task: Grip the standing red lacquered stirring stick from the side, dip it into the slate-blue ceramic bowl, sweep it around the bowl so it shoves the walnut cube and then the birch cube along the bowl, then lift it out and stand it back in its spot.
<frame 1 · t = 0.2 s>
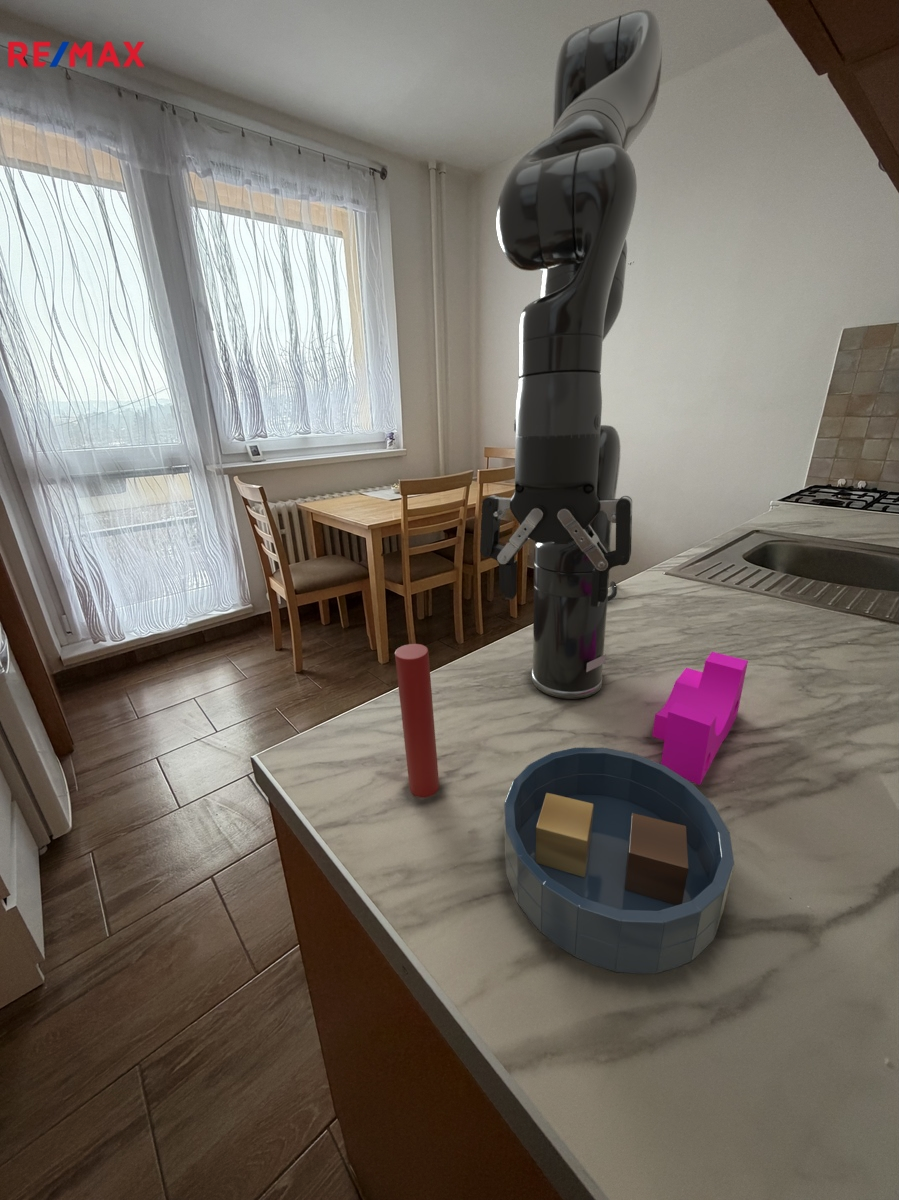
hand: (551, 601, 49), 17 cm above the countertop, tool pointing down, fingers open, 8 cm apart
stirring stick: (424, 790, 49), on the countertop
bowl: (606, 868, 40), on the countertop
birch cube: (563, 850, 41), point 1 cm above the countertop, touching bowl
toy block: (689, 739, 54), on the countertop
walnut cube: (653, 876, 38), point 1 cm above the countertop, touching bowl
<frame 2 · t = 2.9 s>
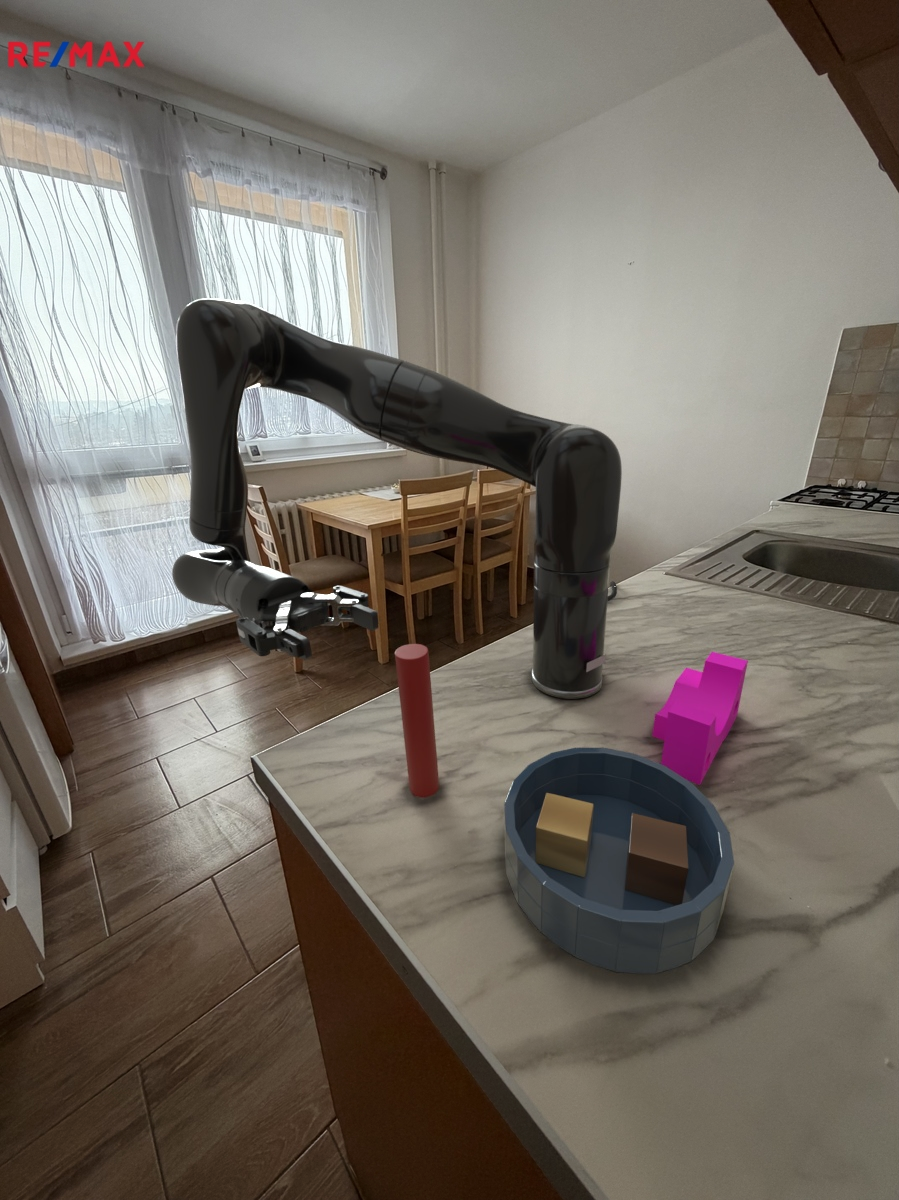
hand: (343, 635, 51), 14 cm above the countertop, tool horizontal, fingers open, 8 cm apart
nothing on the countertop moved.
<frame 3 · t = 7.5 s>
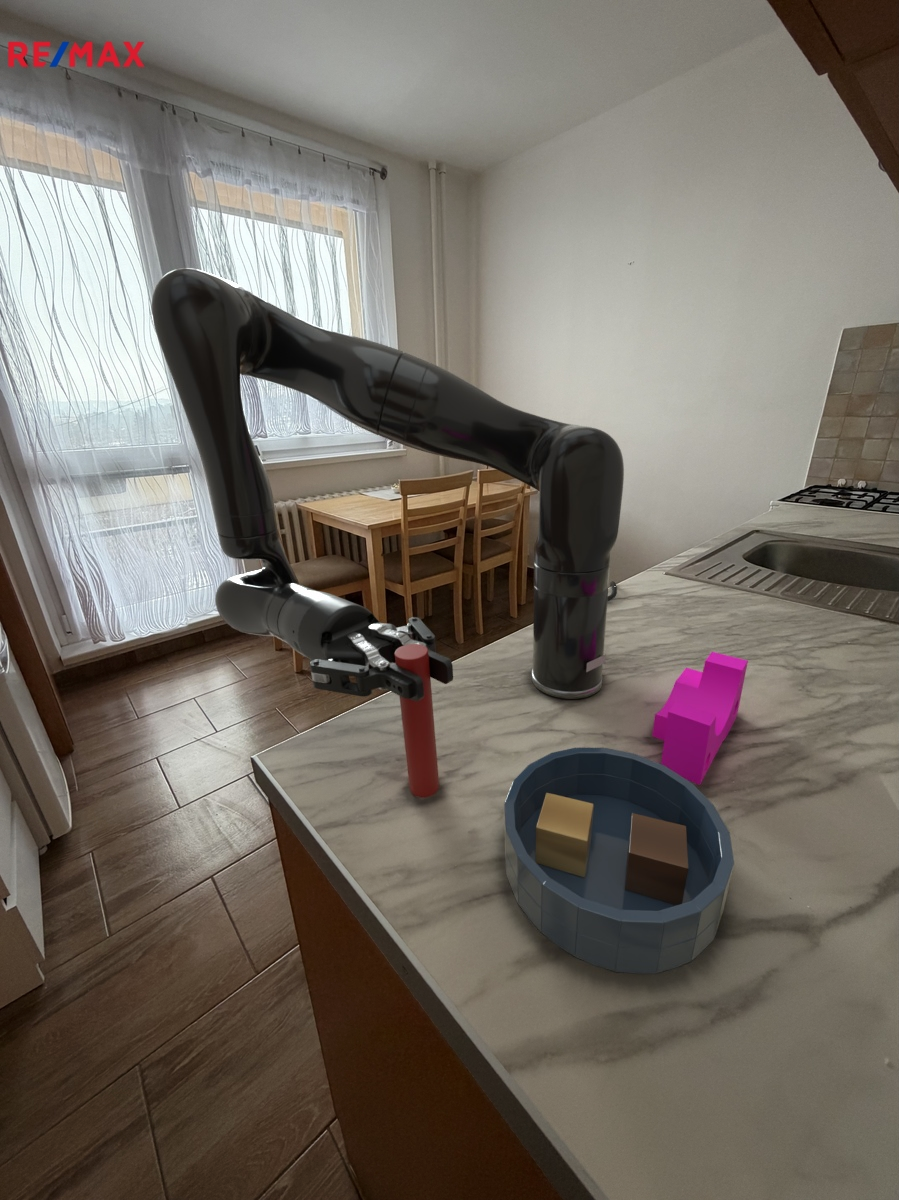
hand: (435, 681, 42), 14 cm above the countertop, tool horizontal, fingers closed on stirring stick, 3 cm apart
stirring stick: (424, 790, 49), on the countertop, touching gripper
everything else where it was.
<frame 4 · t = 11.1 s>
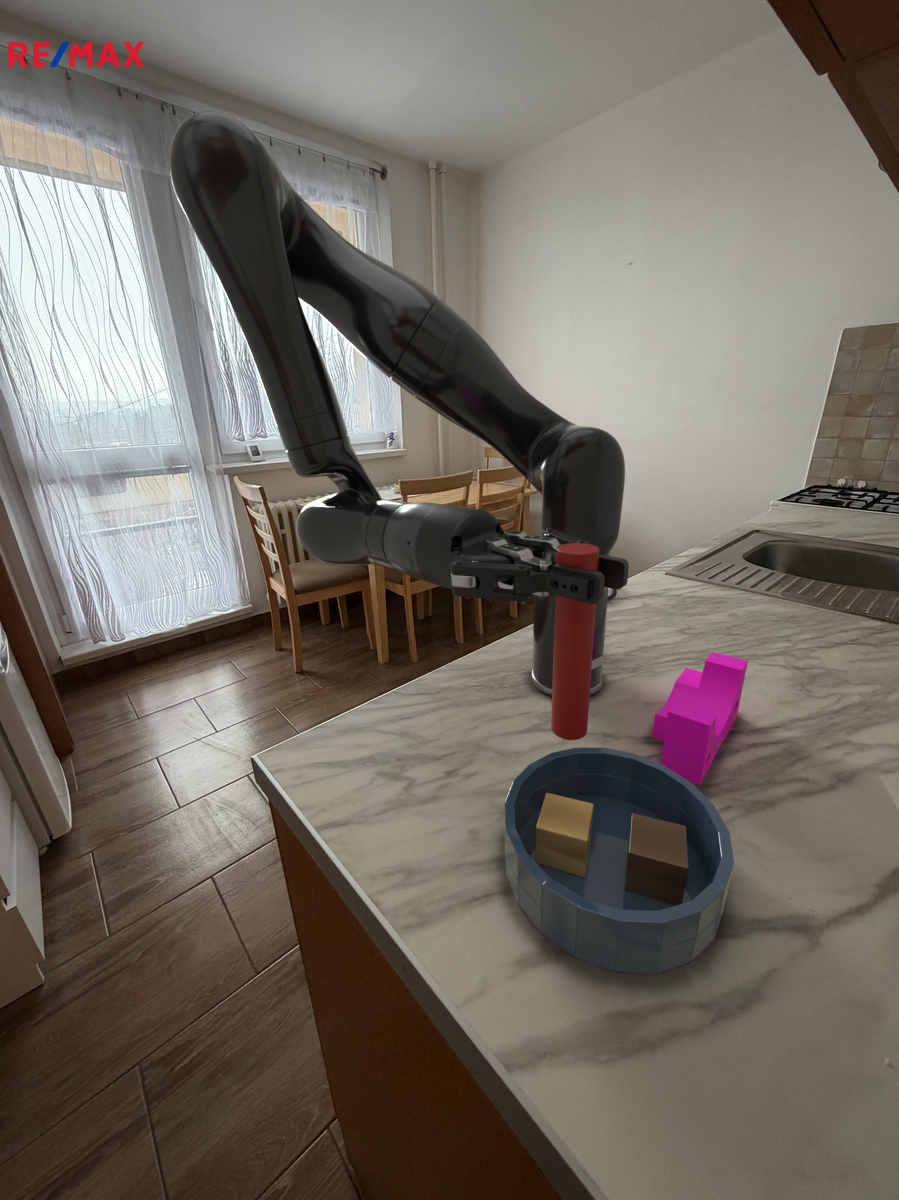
hand: (613, 581, 34), 24 cm above the countertop, tool horizontal, fingers closed on stirring stick, 3 cm apart
stirring stick: (569, 729, 41), point 10 cm above the countertop, touching gripper
everything else where it was.
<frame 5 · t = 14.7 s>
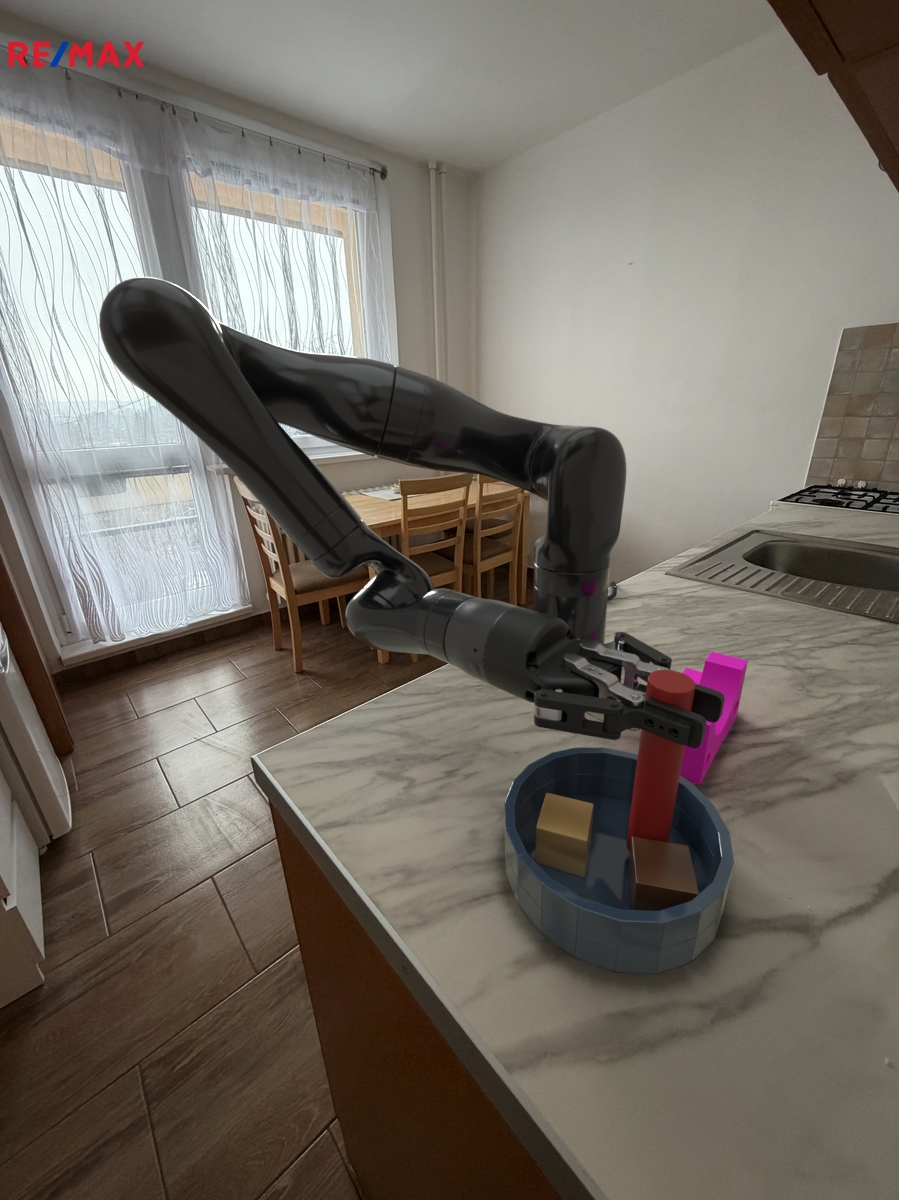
hand: (711, 720, 32), 16 cm above the countertop, tool horizontal, fingers closed on stirring stick, 3 cm apart
stirring stick: (645, 848, 39), point 2 cm above the countertop, touching gripper
walnut cube: (657, 901, 36), point 1 cm above the countertop, touching bowl
everything else where it was.
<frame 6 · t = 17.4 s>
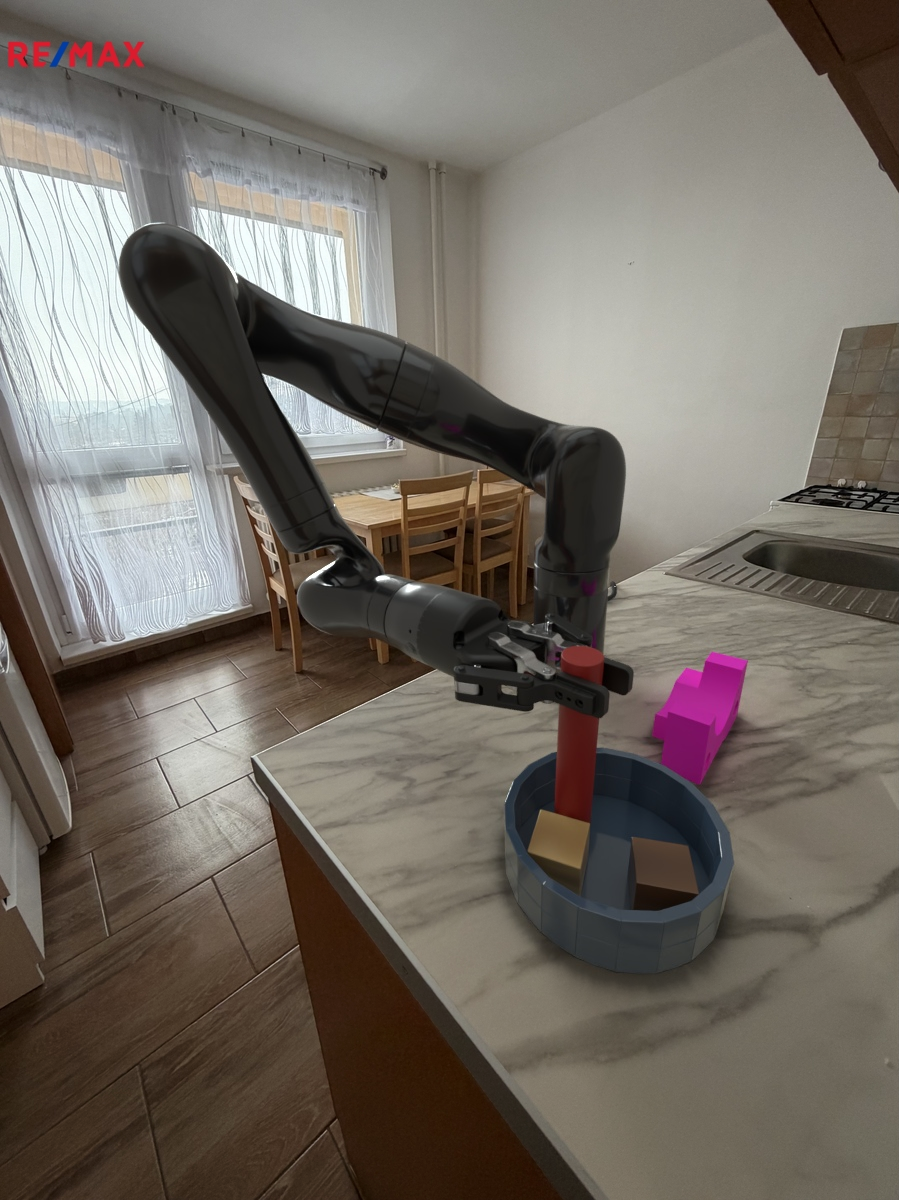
hand: (618, 692, 34), 17 cm above the countertop, tool horizontal, fingers closed on stirring stick, 3 cm apart
stirring stick: (572, 820, 41), point 3 cm above the countertop, touching gripper
birch cube: (559, 868, 39), point 1 cm above the countertop, tilted 7°, touching bowl
everything else where it was.
when the fingers open (14 cm above the countertop, at t = 23.5 s): stirring stick stays where it is, on the countertop.
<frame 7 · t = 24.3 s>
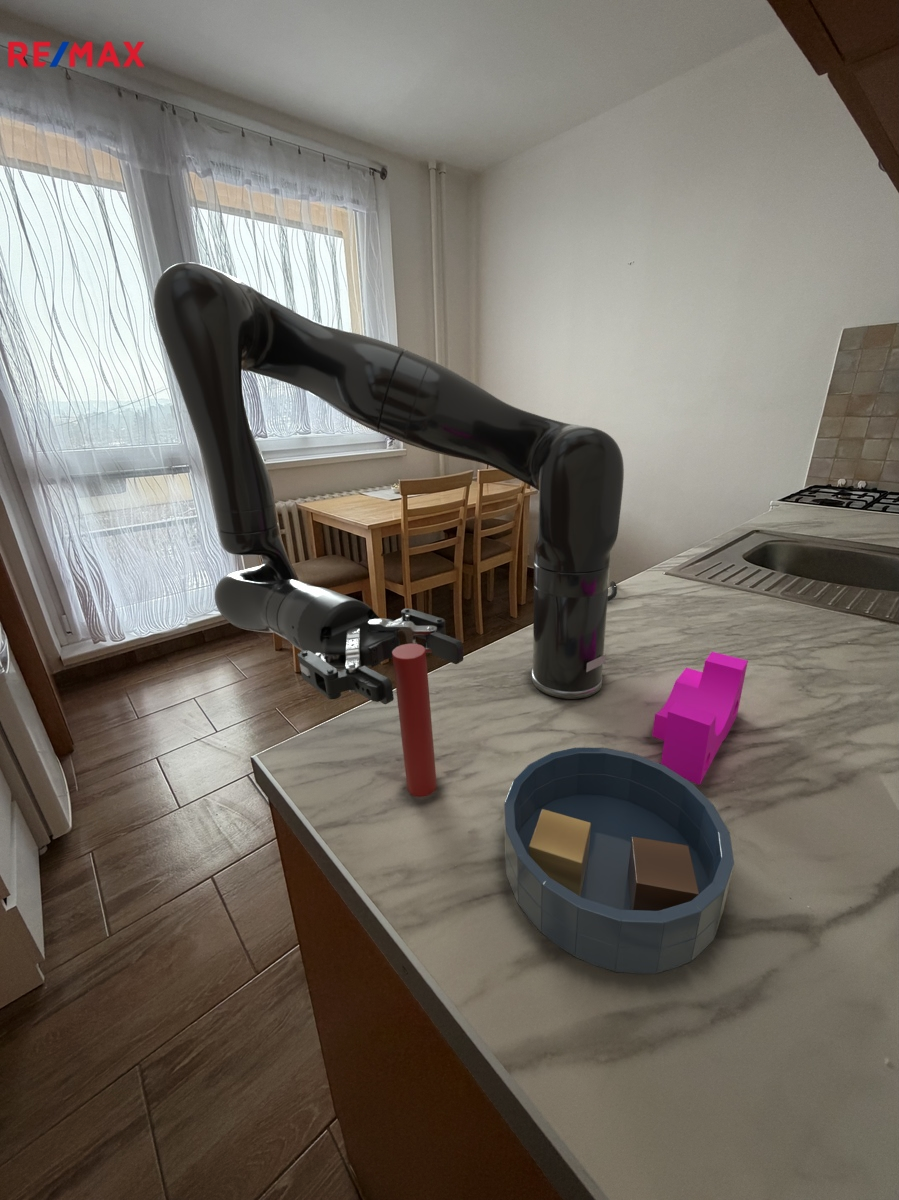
hand: (427, 672, 42), 15 cm above the countertop, tool horizontal, fingers open, 8 cm apart
stirring stick: (422, 790, 49), on the countertop
birch cube: (559, 870, 39), point 1 cm above the countertop, touching bowl
everything else where it was.
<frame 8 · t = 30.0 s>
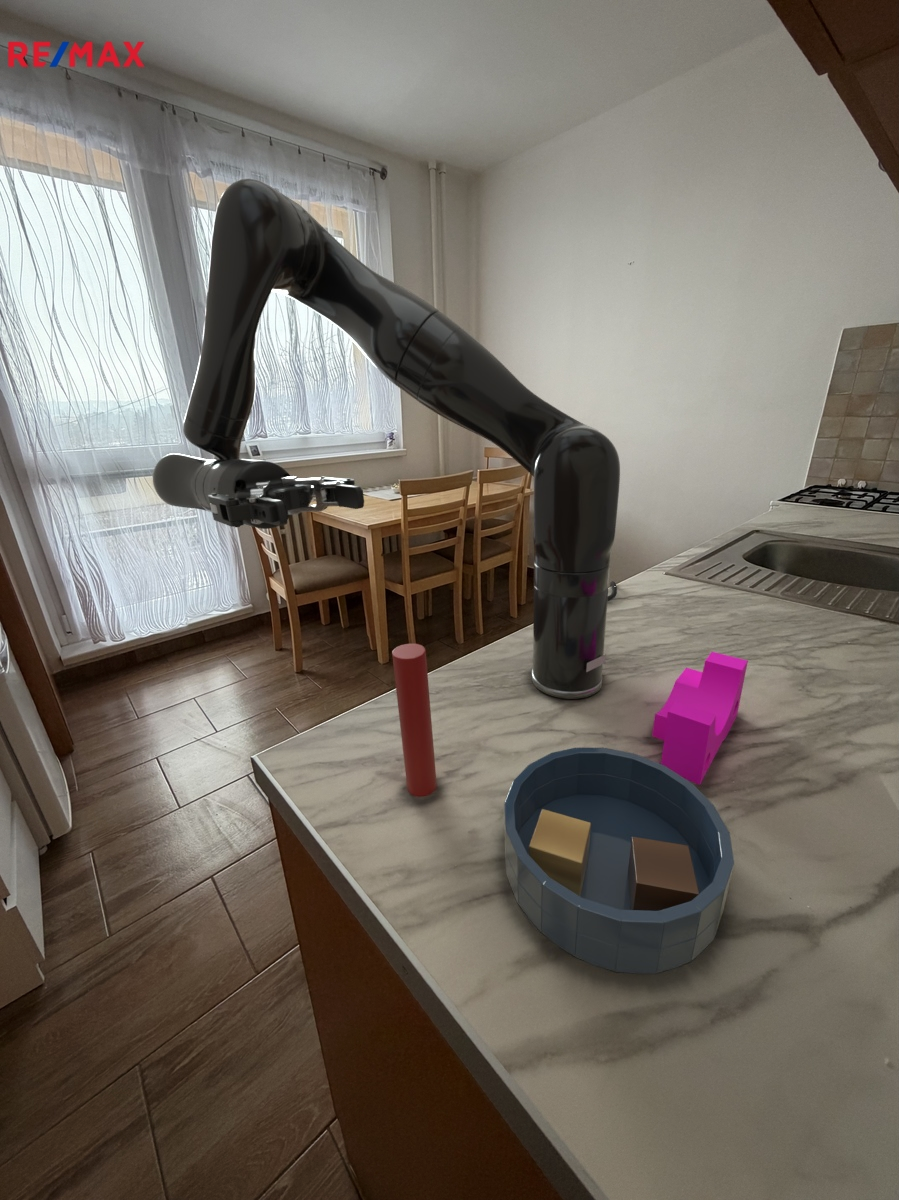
hand: (324, 505, 46), 28 cm above the countertop, tool horizontal, fingers open, 8 cm apart
nothing on the countertop moved.
at the end: walnut cube moved 2.2 cm from its start; birch cube moved 2.0 cm from its start; walnut cube inside the target area in the bowl (4.4 cm from its centre), point 0.6 cm above the bowl's base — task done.
